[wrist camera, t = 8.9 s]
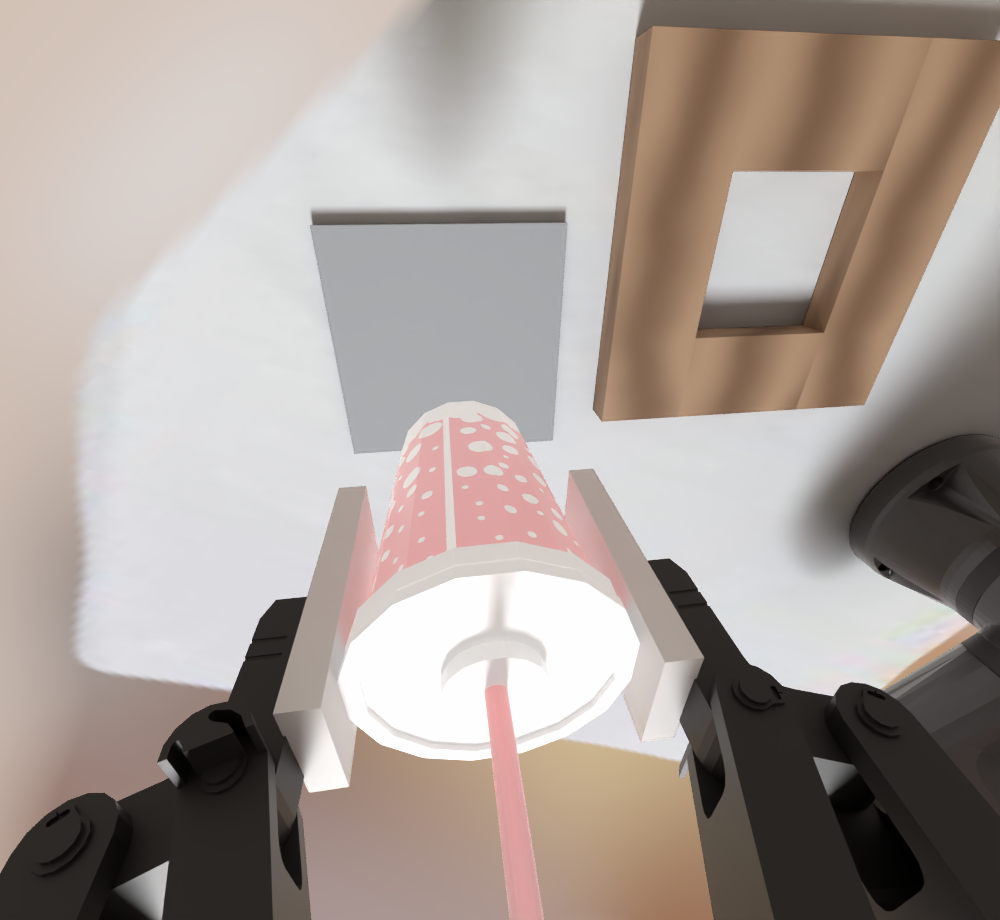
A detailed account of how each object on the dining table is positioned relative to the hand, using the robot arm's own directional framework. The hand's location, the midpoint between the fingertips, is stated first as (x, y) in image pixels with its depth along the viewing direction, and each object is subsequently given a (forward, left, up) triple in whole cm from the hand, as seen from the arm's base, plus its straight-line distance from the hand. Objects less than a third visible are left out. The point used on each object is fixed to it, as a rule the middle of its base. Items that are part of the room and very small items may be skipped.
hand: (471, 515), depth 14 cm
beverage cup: (0, 0, -4) cm, 4 cm away
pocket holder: (-20, -5, -17) cm, 27 cm away
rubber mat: (0, 0, -17) cm, 17 cm away
